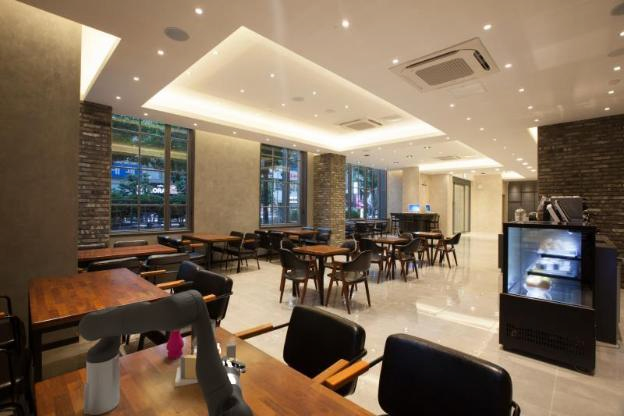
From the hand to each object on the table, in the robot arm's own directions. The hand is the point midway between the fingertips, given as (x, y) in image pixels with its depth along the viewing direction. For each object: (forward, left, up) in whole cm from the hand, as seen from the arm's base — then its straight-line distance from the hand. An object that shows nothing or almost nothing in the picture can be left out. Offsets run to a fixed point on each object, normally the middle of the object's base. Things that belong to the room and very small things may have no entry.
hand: (224, 358), depth 106 cm
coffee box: (-7, +34, -15) cm, 38 cm away
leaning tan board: (-6, +13, -13) cm, 20 cm away
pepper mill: (-19, +39, -15) cm, 46 cm away
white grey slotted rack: (-5, +20, -15) cm, 25 cm away
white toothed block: (-6, +22, -14) cm, 27 cm away
